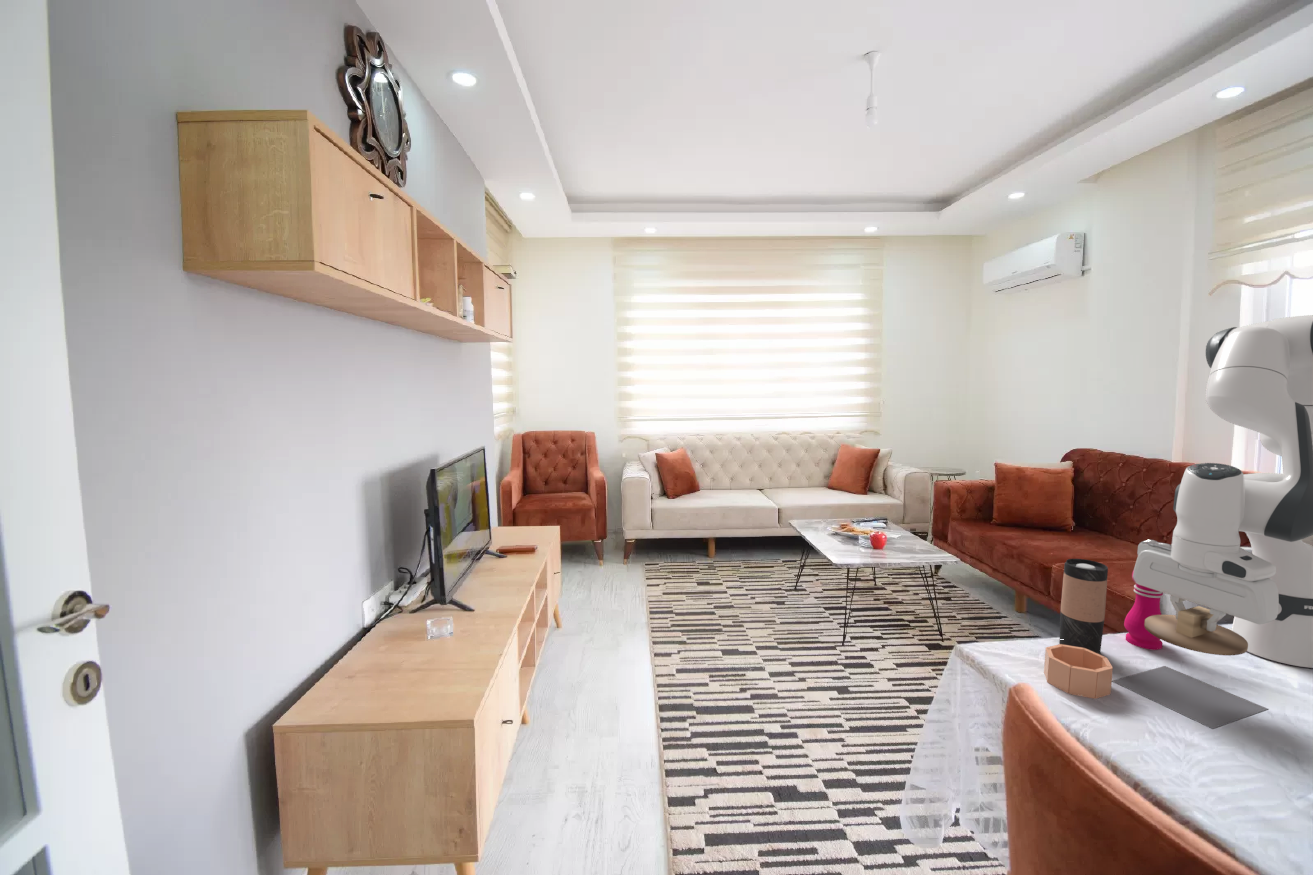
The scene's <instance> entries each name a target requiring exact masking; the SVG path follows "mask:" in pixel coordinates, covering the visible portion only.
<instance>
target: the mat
mask: <svg viewBox="0 0 1313 875" xmlns="http://www.w3.org/2000/svg"><path fill="white" fill-rule="evenodd" d="M1112 683H1114V684H1117V685H1119V686H1121V687H1122V688H1125V689H1127V690H1129V691H1131V692H1134V693H1135V694H1137V695H1140V696H1142V697H1143V698H1146V699H1148V700H1150V701H1152V702H1153V703H1157V704H1159V705H1161V706H1162V707H1165V708H1167V709H1169V710H1171V711H1173V712H1175V713H1178V714H1180V715H1182V716H1184V717H1185V718H1189V719H1190V720H1192V721H1194V722H1197V723H1199V724H1201V725H1203V726H1205V727H1207V728H1209V729H1211V730H1213V729H1217V728H1220V727H1222V726H1225V725H1227V724H1230V723H1234V722H1237V721H1239V720H1243V719H1245V718H1248V717H1250V716H1254V715H1256V714H1259V713H1262V712H1266V711H1267V710H1269V708H1267V707H1264V706H1262V705H1260V704H1257V703H1255V702H1253V701H1250V700H1248V699H1247V698H1244V697H1241V696H1239V695H1235V694H1233V693H1231V692H1229V691H1226V690H1224V689H1221V688H1220V687H1217V686H1214V685H1212V684H1210V683H1208V682H1205V681H1204V680H1200V679H1197V678H1195V677H1193V676H1190V675H1188V674H1186V673H1183V672H1181V671H1178V670H1176V669H1174V668H1171V667H1168V666H1166V665H1163V666H1159V667H1156V668H1155V667H1154V668H1152V669H1149V670H1144V671H1141V672H1137V673H1135V674H1130V675H1127V676H1124V677H1120V678H1117V679H1112Z"/></svg>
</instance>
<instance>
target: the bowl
mask: <svg viewBox="0 0 1313 875" xmlns="http://www.w3.org/2000/svg"><path fill="white" fill-rule="evenodd" d="M1113 671H1114V670H1113V665H1112V664H1111V662H1110V661H1109V658H1108V657H1106V656H1104V655H1101V653H1100V654H1097V653H1095V652H1093V651H1090V650H1088V649H1086V648H1081V647H1075V646H1069V645H1063V644H1054V645H1050V646H1047V647H1045V651H1044V666H1043V675H1044V677H1045V680H1046V683H1047V684H1050V686H1051V685H1052V686H1053V687H1055V688H1057V689H1059V690H1060V691H1063V692H1065V693H1067V694H1069V695H1073V696H1079V697H1084V698H1089V699H1095V700H1097V699H1099V698H1104V697H1106V696H1109V695H1111V694H1112V693H1111V692H1112V683H1113V682H1112V681H1113Z"/></svg>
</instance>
